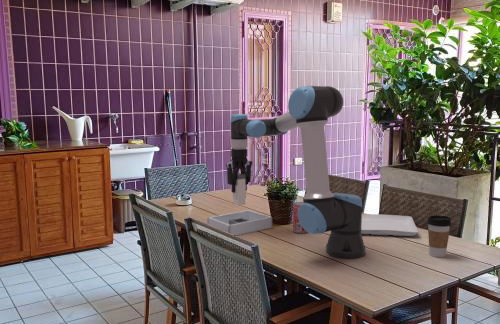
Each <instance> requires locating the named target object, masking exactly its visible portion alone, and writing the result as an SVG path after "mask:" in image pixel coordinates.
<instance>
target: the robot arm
mask: <svg viewBox="0 0 500 324" xmlns="http://www.w3.org/2000/svg"><path fill="white" fill-rule="evenodd" d="M287 104H288V105H287V109H288V111H287V112H285V113H283V114H280V115H279V116H276V117H274V118H263V119H259V118H257V119H249V118H248V115H247V114H246V113H234V114H231V116H230V147H231V149H230V157H231V160H230V161H229V162H226V163H225V167H226V176H227V177H226V178H227V184H228V185H231V186H230V187H231V193H232V200H233V199H235V200H237V186H236V182H237V175H238V173H239V171H240V173H241V174H245V199H246V198H247V194H246V193H247V192H248V191H247V190H248V185H249V183H251V181H252V165H253V161H251V160H248V145H249V143H248V137H249V138H254V139H255V138H257V139H259V138H262V137H269V136H274V137H275V136H278V137H280V136H284V135H286V134H288V132H289V131H291V130H294V129H296V128H300V135H301V145H302V155H303V167H304V169H303V170H304V177H305V179H304V180H305V187H306V188H305V189H306V192H305V194H304V196H303V197H302V202H303V204H302V205H301V206H300V207H299V209H298V219H299V222H300V224H301V226H302V227H303V228H304V230H305V231H307V233H309V234H311V235H317V234H324V233H328V232H330V233H329V237H328V241H327V243H326V246H325V252H326V254H327V255H330V256H331V257H333V258H334V257H335V258H339V259H358V258H361V257H364V256H365V255H366V245H364V240H363V234H361V225H362V214H363V200H362V198H361V197H360V196H359V195H355V194H352V193H344V192H342V193H341V192H334V193H333V192H332V191H331V190H330V179H329V178H330V176H329V167H328V155H327V153H328V152H327V144H326V143H327V142H326V133H325V131H326V130H325V126H326V124H327V123H328V122H329V118H331V117H334V116H337V115H338V114H339V113H341V111H342V109H343V107H344V97H343V95H342V93H341V91H340V90H338V89H337V88H335V87H333V86H330V85H329V86H326V85H324V86H322V85H321V86H320V85H305V86H298V87H297V88H295V89H294V90H292V92H291V94H290V96H289V98H288V103H287Z"/></svg>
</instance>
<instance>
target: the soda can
mask: <svg viewBox="0 0 500 324" xmlns="http://www.w3.org/2000/svg"><path fill="white" fill-rule="evenodd" d="M302 204H303V201H297V202H294V203H293V206H292V230H293V231H294V233H297V234H307V233H308V232H307V231H305V230H304V228H303V227H302V226H301V224H300V222H299V219H298V209H299V207H300V206H301V205H302Z"/></svg>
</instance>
